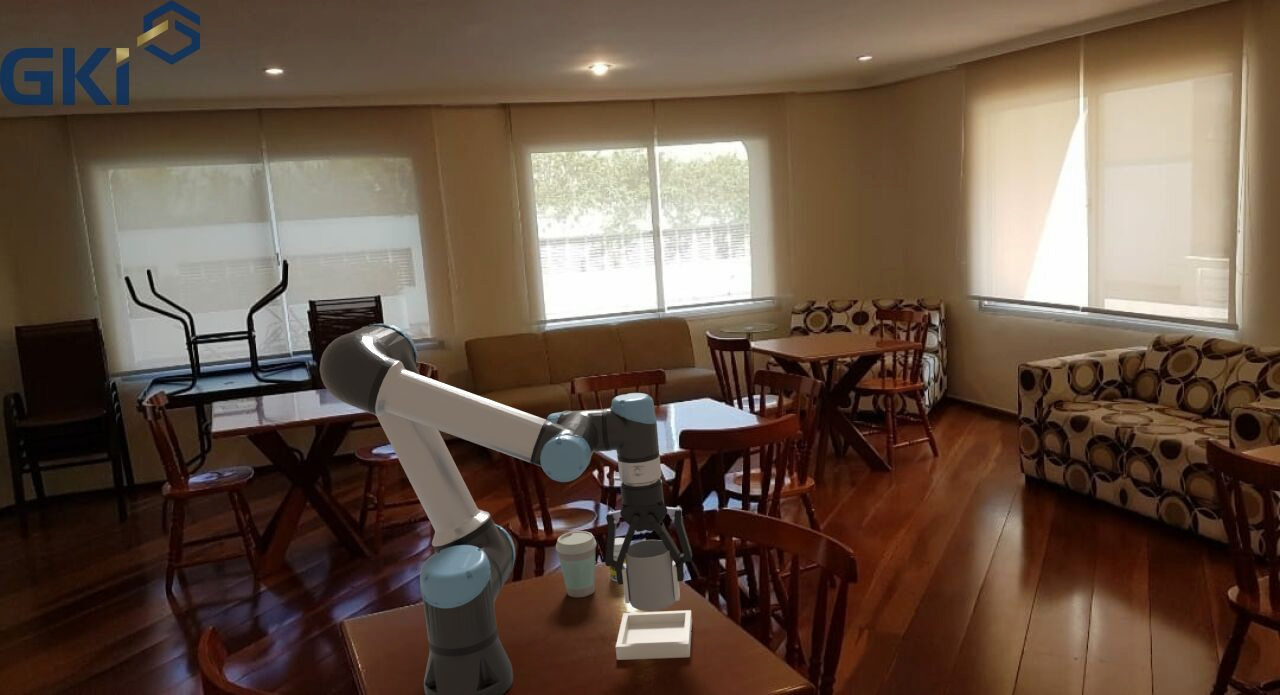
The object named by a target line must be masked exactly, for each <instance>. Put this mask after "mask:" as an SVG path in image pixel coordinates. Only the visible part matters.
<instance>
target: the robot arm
mask: <svg viewBox="0 0 1280 695" xmlns="http://www.w3.org/2000/svg"><path fill="white" fill-rule="evenodd" d="M417 361H418V350H417V347H416V345H415V342H414V340H413V339H412V337H411V336H410V334H408V333H407V331H405V330H403V329H402V328H400V327H398V326H396V325H393V324H390V323H374V324H368V325H366V326H365V325H364V326H362V327H361V328H359V329H357V330H354V331H352V332H350V333H346V334H344V335H340V336H339V337H337V338H335V339H334V340H332V342H331V343H329V344H328V346H327V347H326V348H325V350H324V351H323V353H322V355H321V358H320V365H319V373H320V379H321V381H322V383H323V385H324V387H325V388H326V390H327V391H328V392H329V393H330V394H331V395H332V396H333V397H335V398H336V400H339V401H341V402H343V403H345V404H347V405H349V406H352V407H354V408H357V409H359V410H362V411H364V412H365V413H369V414H372V415H375V416H376V417H377V418H376V419H377V420H378V422H379V423H380V426H381V427H382V429H383V431H384V434H385V435H386V437H387V439H388V442H389V443H390V445H391V447H392V449H393V451H394V453H395V455H396V457H397V459H398V460H399V463H400V465H401V467H402V469H403V470H404V472H405V474H406V476H407V479H408V480H409V483H410V484H411V487H412V488H413V490H414V492H415V494H416V496H417V498H418V500H419V502H420V504H421V506H422V508H423V510H424V511H425V514H426V515H427V518H428V519H429V522H430V524H431V525H432V527H433V530H434V535H433V538H432V540H431V541H432V542H431V545H432V546H433V549H434V550H435V553H433V554H431V555H430V556H429V557H428V558H427V559H426V560H425V561H424V562H423V563H422V566H421V568H420V572H419V578H420V579H419V580H420V581H419V584H420V586H419V589H420V590H419V591H420V594H421V597H422V598H421V599H422V606H423V613H424V620H425V626H426V633H427V639H428V646H429V654H428V659H427V664H426V668H425V673H424V674H425V675H424V679H423V689H424V695H504V694H505V693H506V692H508V690H509V689H510V688H511V686H512V685H513V682H514V674H513V672H514V671H513V666H512V663H511V660H510V658H509V657H508V654H507V652H506V650H505V649H504V646H503V644H502V642H501V641H500V638H499V634H498V626H497V620H496V619H497V618H496V610H495V601H496V600H497V598H498V596H499V594H500V593H501V591H502V589H503V586H504V585H505V583H506V582H507V581H508V579H509V578H510V577H511V574H512V571H513V568H514V566H515V565H514V564H515V560H516V547H515V544H514V541H513V538H512V536H511V535H510V534H509V532H507V530H506V529H505V528H504V527H502V526H500V525H498V524H496V523H495V521H494V520H493V518H492V515H491V514H490V513H489V512H488V511H485V510H482V509H479V508H478V507H477V506H478V505H477V504H476V502H475V501H474V499H473V496H472V495H471V492H470V490H469V489H468V486H467V485H466V482H465V481H464V479H463V476H462V475H461V473H460V471H459V469H458V467H457V465H456V463H455V461H454V459H453V456H452V455H451V453H450V451H449V449H448V447H447V445H446V442H445V441H444V438H443V437H442V434H441V433H440V432H443V433H445V434H449V435H452V436H454V437H457V438H460V439H462V440H464V441H469V442H471V443H474V444H476V445H479V446H482V447H485V448H488V449H491V450H494V451H496V452H500V453H502V454H505V455H506V456H511V457H513V458H517V459H519V460H522V461H525V462H527V463H530V464H533V465H536V466H538V467H541V468H542V470H543V472H544V473H545V474H546V476H547V477H549V478H550V479H551V480H553V481H556V482H559V483H568V482H572V481H575V480H576V479H578V478H579V477H580V476H581V475H582V474H583V473H584V472H585V471H586V469H587V467H588V466H589V465H590V462H591V460H592V456H593V454H594V453H598V452H600V453H601V452H611V451H616V458H617V465H618V476H619V481H620V482H621V483H620V484H619V485H620V487H619V488H620V495H621V496H620V497H621V504H622V506H621V509H619V510H613V509H609V510H608V511H607V513H606V517H605V519H606V523H607V526H608V529H607V540H606V550H605V561H604V564H605V566H606V567H609V566H613V567H615V569H616V574H617V585H618V586H619V585H623V593H624V602H625V604H631V603H630V597H629V588H628V578H627V569H626V564H623V562H624V559H625V557H626V553H627V551H628V549H629V546H630V545H631V544H632V541H633V538H634V535H635V533H636V532H637V533H639V532H641V533H642V532H644V531H649V532H654V531H655V533H656V534H657V535H656V536H658V537H659V539H660V540H661V541H662V542H663V544H664V545H665V547H666V549H667V550H668V551H670V555H671V557H672V562H673V563H672V574H673V584H674V594H675V602H678V601H679V602H680V598H681V597H680V596H681V591H680V590H681V589H680V582H684V580H685V579H684V578H685V570H684V568H685V567H684V564H685V563H690V562H691V561H692V560H693V559H692V558H693V551H692V548H691V545H690V544H691V543H690V542H689V537H688V535H687V531H686V529H685V525H684V521H683V518H682V516H683V508H682V506H681V505H677V506H675V507H673V506H667V504H666V502H665V498H664V489H663V480H662V479H661V477H662V467H661V456H660V449H659V448H660V446H659V436H658V424H657V423H658V422H657V416H656V410H655V409H656V408H655V404H654V403H655V402H654V399H653V398H652V396H650V395H649V394H646V393H641V392H631V393H630V392H629V393H627V394H620V395H617V396H615V397H613V398H612V400H611V406H610V407H608V408H600V409H597V408H596V409H584V410H564V411H561V412H560V411H559V412H555V413H551V414H549V415H548V416H547V418H542V417H540V416H536V415H534V414H531V413H529V412H525V411H522V410H520V409H517V408H515V407H511V406H508V405H507V404H503V403H500V402H498V401H494V400H493V399H489V398H486V397H484V396H481V395H479V394H478V395H477V394H475V393H472V392H469V391H466V390H464V389H461V388H458V387H456V386H452V385H450V384H446V383H444V382H442V381H438V380H436V379H433V378H430V377H427V376H424V375H421V373H420V372H419V370H418V368H417ZM667 515H669V518H670V519H671V521H673V522H674V527H675V531H676V534H677V536H678V540H679V544H680V547H681V550H682V553H681V552H680V550H679V548H678V547H677V545H676V542H674V540H673V538H672V537H671V535H670V533H669V531H668V530H667V527H666V526H665V524H664V522H663V520H664V519H665V517H666V516H667ZM620 518H622V519H623V520H624V521H625V522H626V523H627V524H628V528H627V532H626V534H625V537H624V538H625V539H624V542H623V544H622V547H621V550H620V553H619V555H618V558H616V557H613V555H614V545H615V538H616V533H617V524H618V523H619V522H620Z"/></svg>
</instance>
